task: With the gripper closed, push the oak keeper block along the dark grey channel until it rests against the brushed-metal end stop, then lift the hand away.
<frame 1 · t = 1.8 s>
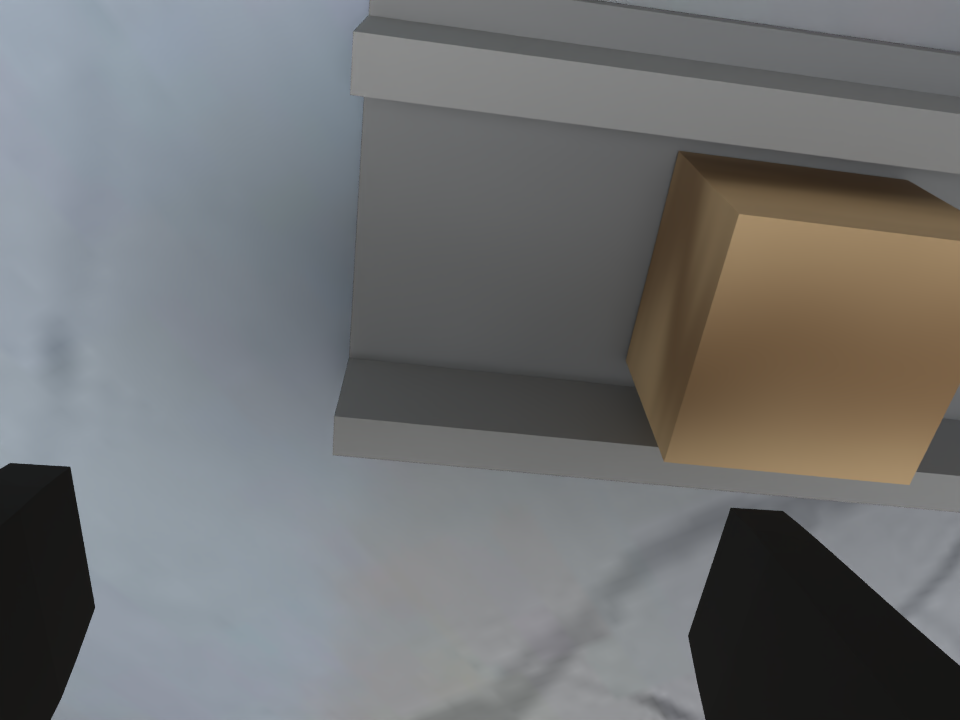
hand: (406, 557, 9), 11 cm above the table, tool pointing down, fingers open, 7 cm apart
keeper: (791, 314, 16), point 3 cm above the table, slide at 0.0 cm
channel: (863, 271, 19), on the table
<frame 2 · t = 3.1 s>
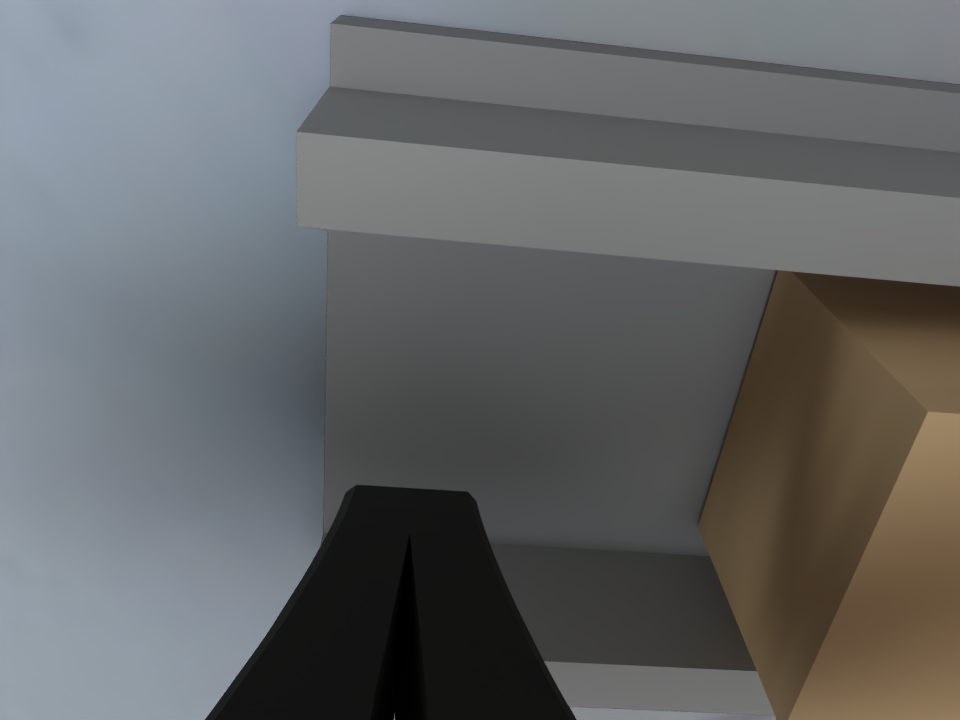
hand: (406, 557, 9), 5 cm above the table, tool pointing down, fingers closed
keeper: (953, 496, 11), point 3 cm above the table, slide at 0.0 cm
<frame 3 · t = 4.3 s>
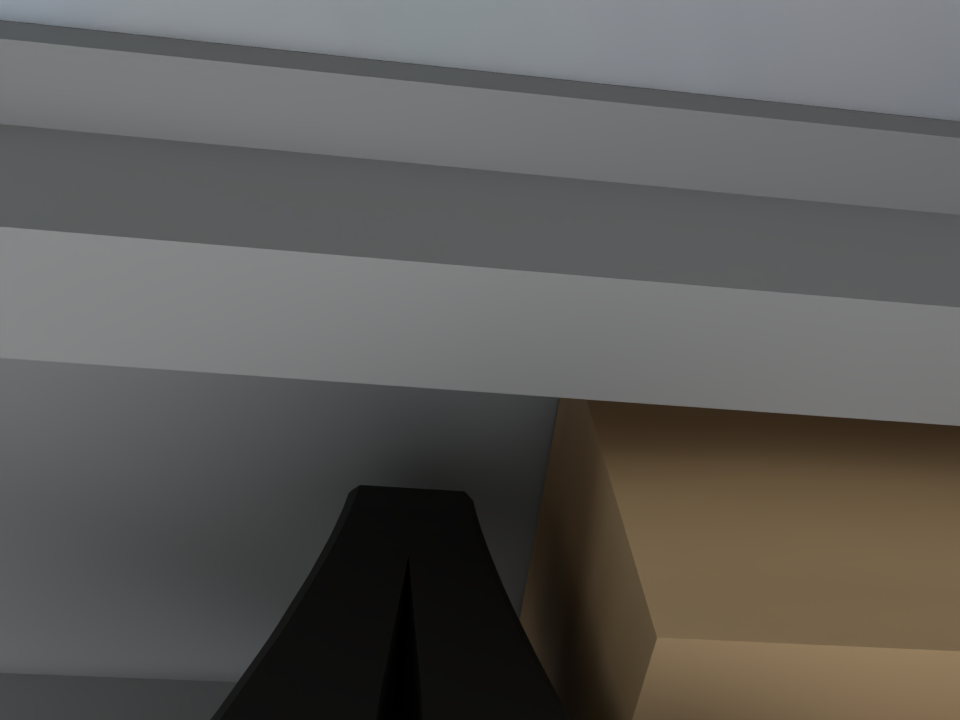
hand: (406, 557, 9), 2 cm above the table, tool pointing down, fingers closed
keeper: (795, 664, 8), point 3 cm above the table, slide at 1.4 cm, touching gripper
channel: (820, 486, 11), on the table
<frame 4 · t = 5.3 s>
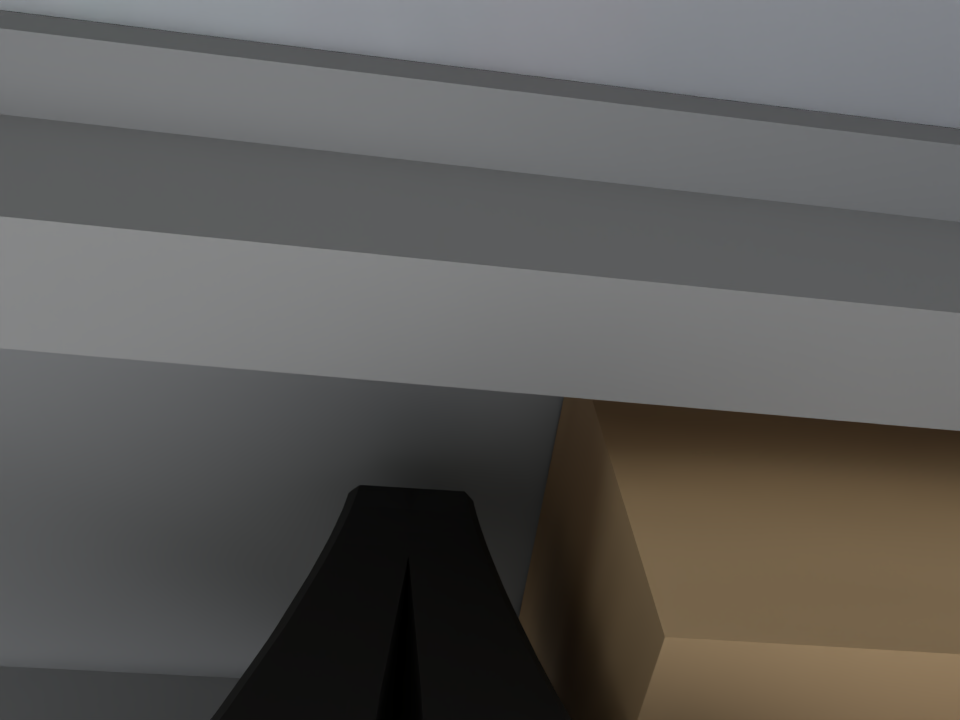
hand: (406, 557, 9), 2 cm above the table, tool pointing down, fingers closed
keeper: (795, 666, 8), point 3 cm above the table, slide at 4.7 cm, touching gripper
channel: (586, 472, 11), on the table
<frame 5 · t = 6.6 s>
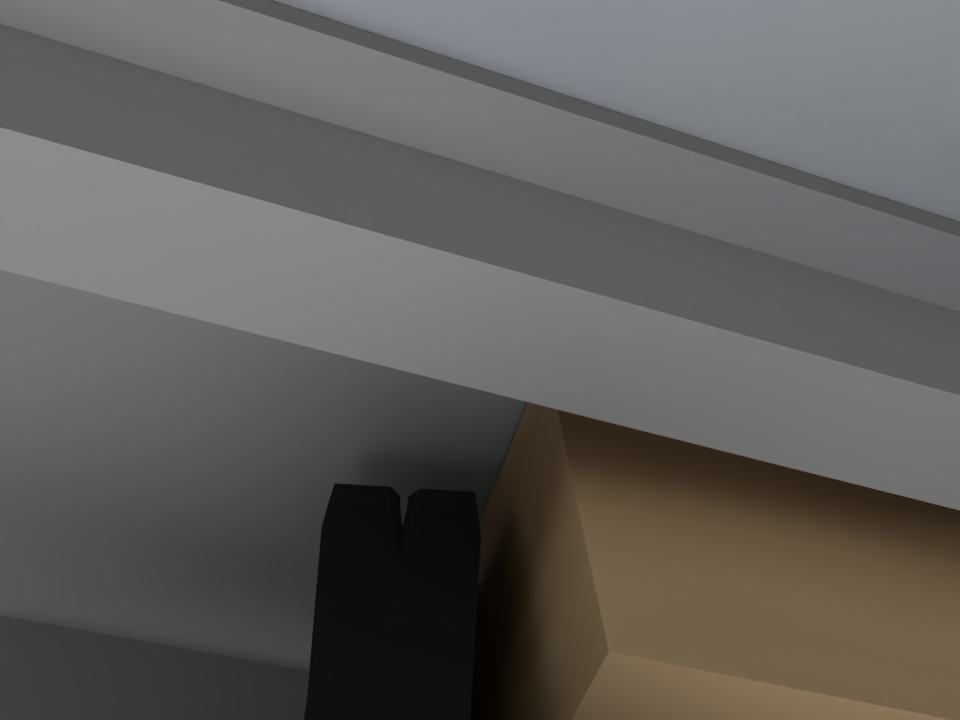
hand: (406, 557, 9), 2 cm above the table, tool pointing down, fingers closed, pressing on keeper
keeper: (706, 700, 8), point 3 cm above the table, slide at 9.5 cm, touching channel, gripper
channel: (176, 402, 10), on the table
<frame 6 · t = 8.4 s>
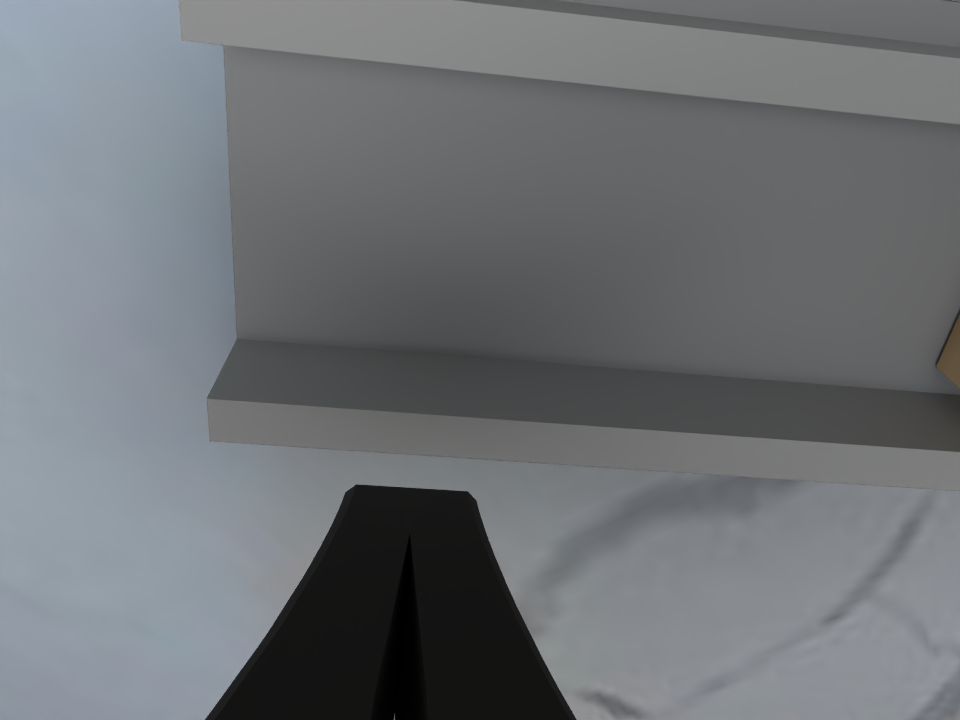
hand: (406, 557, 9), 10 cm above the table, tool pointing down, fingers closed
channel: (784, 233, 18), on the table
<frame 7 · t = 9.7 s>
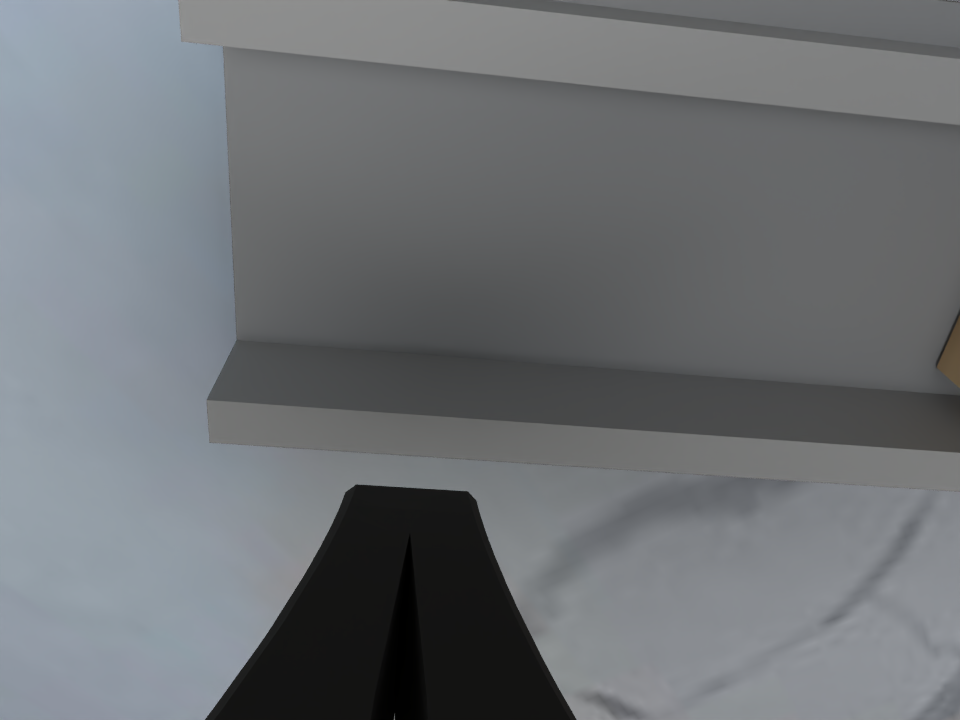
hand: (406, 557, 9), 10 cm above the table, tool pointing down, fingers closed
channel: (784, 233, 18), on the table
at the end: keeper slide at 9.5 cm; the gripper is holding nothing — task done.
